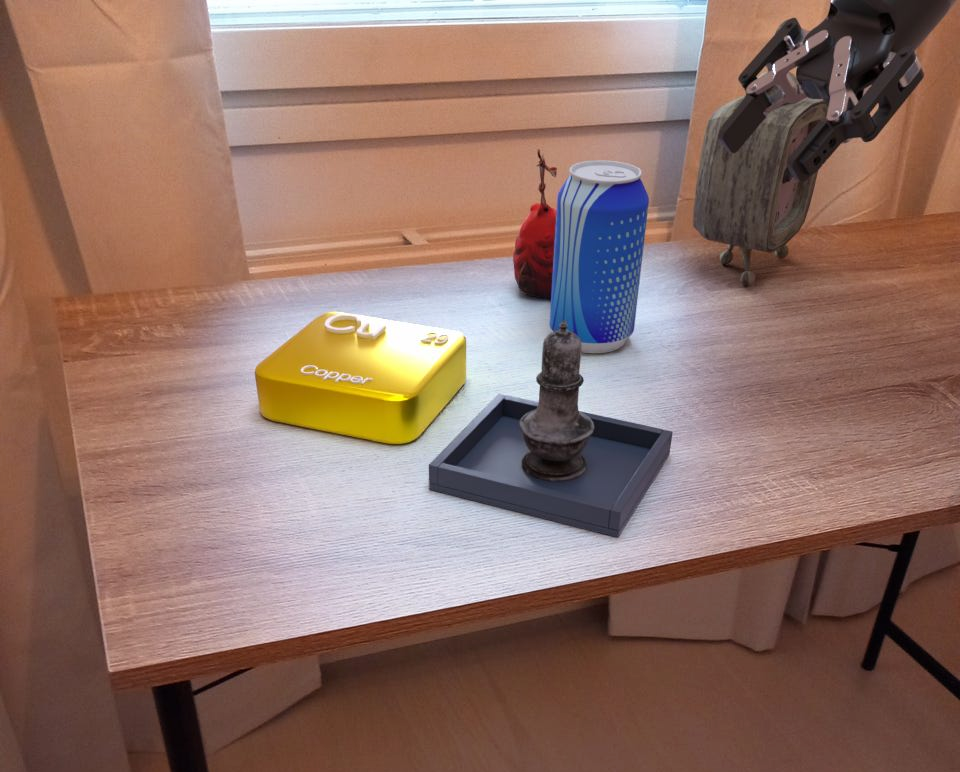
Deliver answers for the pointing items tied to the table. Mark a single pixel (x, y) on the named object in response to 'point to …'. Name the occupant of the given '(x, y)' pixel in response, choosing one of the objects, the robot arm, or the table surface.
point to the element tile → (362, 377)
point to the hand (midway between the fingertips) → (758, 159)
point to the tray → (577, 502)
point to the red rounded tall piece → (536, 244)
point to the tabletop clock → (755, 181)
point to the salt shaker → (557, 413)
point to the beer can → (599, 253)
